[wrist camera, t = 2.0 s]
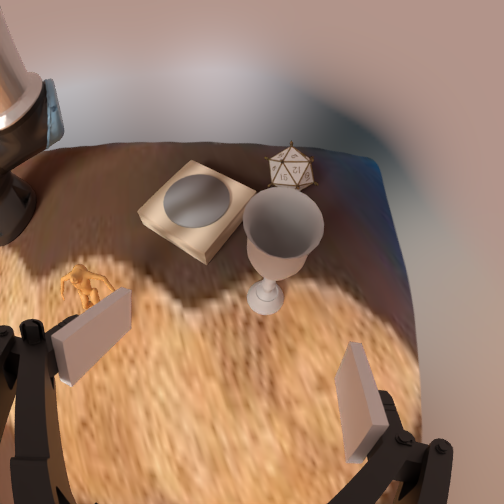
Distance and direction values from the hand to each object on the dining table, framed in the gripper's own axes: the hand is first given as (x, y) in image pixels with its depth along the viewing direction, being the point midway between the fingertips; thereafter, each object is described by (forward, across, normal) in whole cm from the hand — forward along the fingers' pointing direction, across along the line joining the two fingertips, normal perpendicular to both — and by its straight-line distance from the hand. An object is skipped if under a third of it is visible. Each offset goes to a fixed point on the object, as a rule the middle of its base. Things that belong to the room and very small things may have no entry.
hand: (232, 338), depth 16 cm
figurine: (+17, -19, -13) cm, 28 cm away
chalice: (+23, +1, -7) cm, 24 cm away
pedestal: (+30, -12, +1) cm, 33 cm away
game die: (+37, +1, +8) cm, 38 cm away
